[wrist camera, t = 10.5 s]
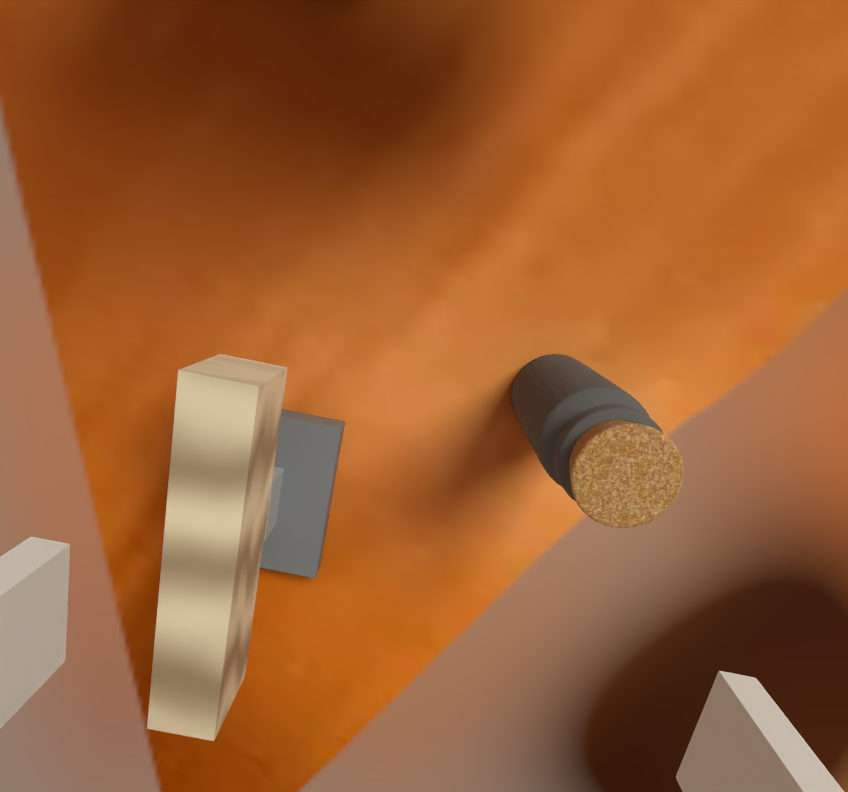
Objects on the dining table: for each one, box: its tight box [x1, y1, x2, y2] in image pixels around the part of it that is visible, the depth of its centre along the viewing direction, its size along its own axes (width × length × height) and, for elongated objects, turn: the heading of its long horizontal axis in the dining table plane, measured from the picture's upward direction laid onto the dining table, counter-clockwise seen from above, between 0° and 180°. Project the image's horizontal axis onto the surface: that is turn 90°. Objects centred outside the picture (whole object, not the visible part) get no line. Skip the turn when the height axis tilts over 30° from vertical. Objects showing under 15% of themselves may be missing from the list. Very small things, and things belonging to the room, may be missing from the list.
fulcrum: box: [260, 409, 345, 578], centre depth 36 cm, size 12×10×6 cm
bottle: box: [512, 354, 684, 528], centre depth 29 cm, size 6×6×15 cm
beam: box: [147, 354, 288, 741], centre depth 30 cm, size 22×4×5 cm, turn 169°
